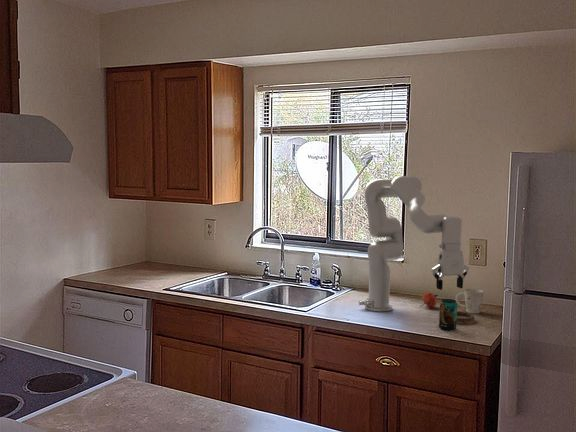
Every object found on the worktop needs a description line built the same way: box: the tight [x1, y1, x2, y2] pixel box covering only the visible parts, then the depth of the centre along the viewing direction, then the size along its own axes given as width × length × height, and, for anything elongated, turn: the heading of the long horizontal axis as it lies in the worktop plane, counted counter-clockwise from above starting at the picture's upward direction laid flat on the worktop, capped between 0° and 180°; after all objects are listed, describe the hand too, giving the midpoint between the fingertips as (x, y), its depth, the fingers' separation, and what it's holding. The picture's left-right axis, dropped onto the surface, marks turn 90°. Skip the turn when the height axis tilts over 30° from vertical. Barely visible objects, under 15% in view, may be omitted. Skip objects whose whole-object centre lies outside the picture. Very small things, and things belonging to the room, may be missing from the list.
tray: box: [456, 310, 476, 325], centre depth 277 cm, size 14×14×2 cm
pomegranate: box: [419, 292, 439, 309], centre depth 299 cm, size 7×7×10 cm
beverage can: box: [438, 298, 458, 332], centre depth 262 cm, size 7×7×12 cm
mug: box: [455, 288, 484, 315], centre depth 292 cm, size 8×13×10 cm, turn 58°
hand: (449, 288), depth 260 cm, fingers open, 9 cm apart
